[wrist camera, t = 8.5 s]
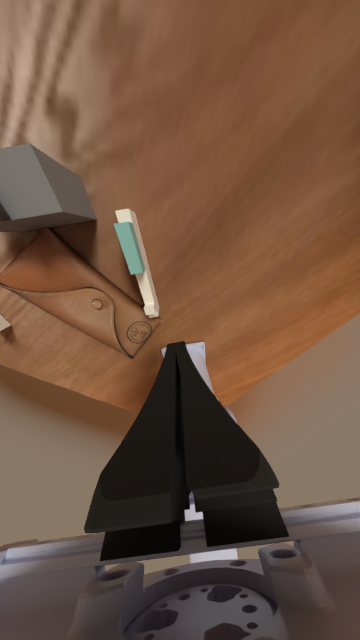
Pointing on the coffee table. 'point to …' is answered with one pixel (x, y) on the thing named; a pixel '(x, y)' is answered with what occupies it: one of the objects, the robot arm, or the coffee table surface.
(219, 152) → the coffee table surface
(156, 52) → the coffee table surface
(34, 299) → the sunglasses case
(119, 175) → the coffee table surface
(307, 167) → the coffee table surface
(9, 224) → the grey block
